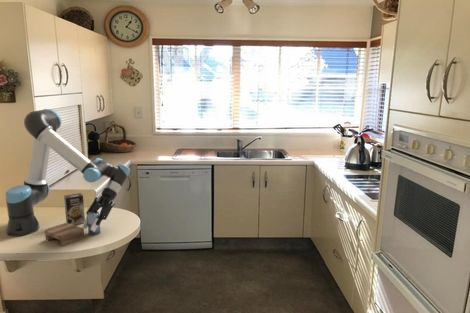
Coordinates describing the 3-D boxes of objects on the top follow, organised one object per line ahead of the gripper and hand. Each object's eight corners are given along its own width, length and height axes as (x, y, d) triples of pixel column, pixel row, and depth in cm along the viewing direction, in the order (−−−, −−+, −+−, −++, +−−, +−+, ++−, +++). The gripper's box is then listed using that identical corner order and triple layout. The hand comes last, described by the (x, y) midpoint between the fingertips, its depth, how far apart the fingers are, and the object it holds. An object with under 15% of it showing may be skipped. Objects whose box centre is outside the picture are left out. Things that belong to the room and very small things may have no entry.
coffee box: (68, 226, 196) (65, 198, 193) (66, 222, 201) (63, 195, 198) (85, 222, 201) (83, 195, 198) (83, 219, 206) (80, 192, 203)
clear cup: (85, 233, 186) (83, 214, 184) (95, 229, 191) (93, 210, 189) (93, 236, 183) (91, 216, 181) (103, 232, 188) (101, 212, 186)
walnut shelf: (45, 240, 179) (44, 230, 178) (67, 231, 189) (66, 222, 188) (63, 246, 172) (61, 236, 171) (84, 237, 182) (83, 228, 181)
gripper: (127, 196, 192) (105, 236, 181) (103, 191, 201) (81, 228, 191) (119, 189, 186) (95, 230, 176) (95, 184, 196) (71, 222, 185)
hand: (88, 229), depth 183 cm, fingers closed on clear cup, 6 cm apart
